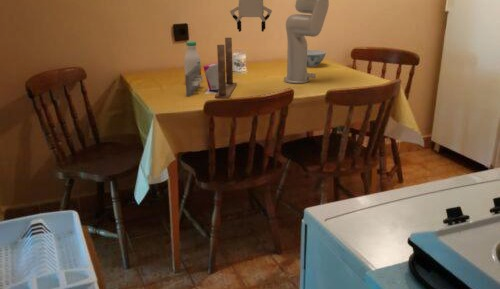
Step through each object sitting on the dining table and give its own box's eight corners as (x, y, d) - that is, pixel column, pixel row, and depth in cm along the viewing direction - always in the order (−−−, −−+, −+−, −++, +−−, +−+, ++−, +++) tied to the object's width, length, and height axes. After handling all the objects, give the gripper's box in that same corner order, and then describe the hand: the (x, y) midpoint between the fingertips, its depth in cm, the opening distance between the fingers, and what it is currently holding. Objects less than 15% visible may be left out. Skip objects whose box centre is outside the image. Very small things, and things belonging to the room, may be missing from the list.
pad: (230, 90, 207) (230, 88, 206) (226, 95, 197) (226, 94, 197) (208, 89, 208) (208, 87, 207) (204, 95, 199) (204, 93, 198)
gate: (236, 84, 213) (235, 37, 205) (228, 98, 190) (227, 46, 182) (224, 84, 213) (222, 37, 205) (214, 98, 191) (212, 45, 183)
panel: (205, 86, 213) (204, 65, 209) (195, 98, 194) (194, 75, 191) (196, 86, 213) (195, 65, 209) (186, 98, 195) (185, 75, 191)
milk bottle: (194, 85, 215) (192, 43, 208) (182, 83, 219) (179, 42, 211) (204, 82, 221) (202, 41, 214) (192, 80, 225) (189, 40, 218)
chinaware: (294, 64, 260) (295, 50, 258) (319, 62, 264) (319, 49, 261) (303, 69, 247) (304, 55, 244) (329, 67, 250) (329, 53, 247)
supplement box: (226, 86, 202) (220, 62, 198) (217, 91, 198) (211, 65, 194) (218, 87, 206) (211, 62, 202) (209, 91, 202) (202, 66, 198)
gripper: (272, -13, 184) (272, 29, 191) (231, -13, 187) (232, 30, 193) (270, -12, 177) (271, 32, 184) (227, -11, 180) (229, 32, 186)
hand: (251, 31), depth 188 cm, fingers open, 9 cm apart
